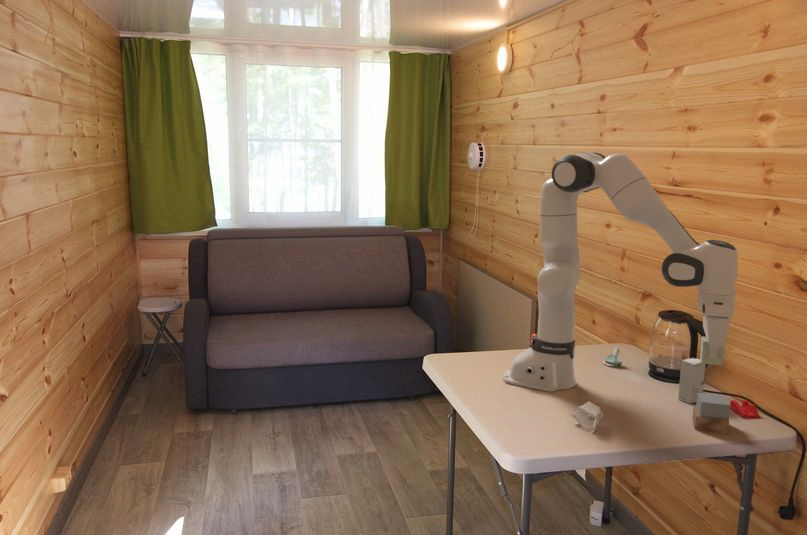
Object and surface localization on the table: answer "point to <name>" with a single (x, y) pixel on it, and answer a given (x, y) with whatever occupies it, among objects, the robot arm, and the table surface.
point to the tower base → (709, 423)
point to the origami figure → (589, 412)
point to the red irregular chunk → (744, 409)
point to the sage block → (705, 354)
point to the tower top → (713, 406)
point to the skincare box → (691, 380)
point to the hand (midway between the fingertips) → (711, 354)
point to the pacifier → (613, 358)
